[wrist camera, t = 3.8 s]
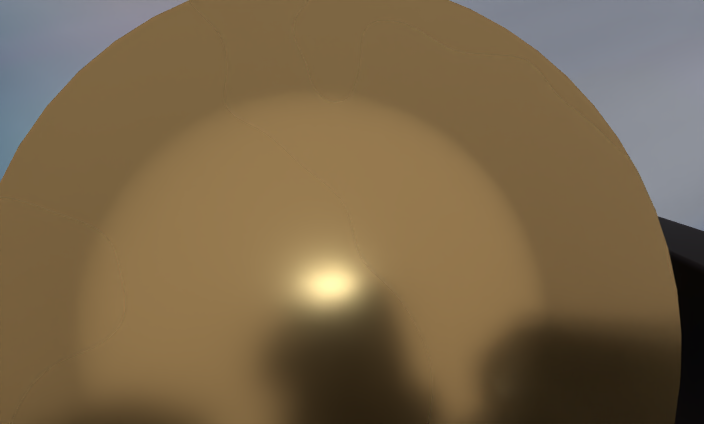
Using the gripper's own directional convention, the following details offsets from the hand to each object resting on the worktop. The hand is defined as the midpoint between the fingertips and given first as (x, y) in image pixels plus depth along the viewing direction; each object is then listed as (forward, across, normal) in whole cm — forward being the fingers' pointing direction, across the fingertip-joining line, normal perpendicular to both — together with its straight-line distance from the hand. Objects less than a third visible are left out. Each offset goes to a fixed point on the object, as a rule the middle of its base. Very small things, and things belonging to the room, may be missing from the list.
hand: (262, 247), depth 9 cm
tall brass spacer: (+3, 0, +5) cm, 6 cm away
